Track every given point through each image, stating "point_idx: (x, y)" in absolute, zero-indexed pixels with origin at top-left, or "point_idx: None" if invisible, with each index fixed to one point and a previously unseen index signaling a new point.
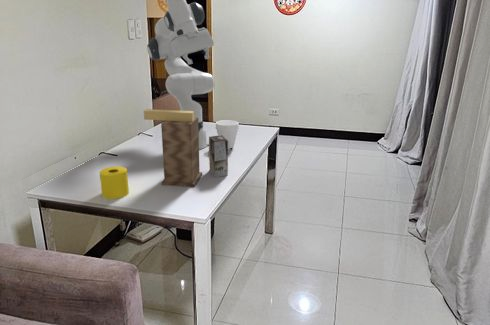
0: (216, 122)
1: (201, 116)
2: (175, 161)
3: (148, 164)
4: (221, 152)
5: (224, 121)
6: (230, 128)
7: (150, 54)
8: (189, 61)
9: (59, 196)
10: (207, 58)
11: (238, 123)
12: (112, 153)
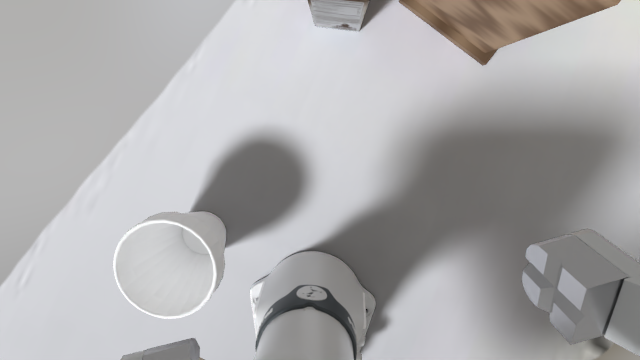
0: (207, 295)
1: (265, 336)
2: None
3: (519, 179)
4: None
5: (161, 311)
6: (175, 216)
7: None
8: (614, 248)
9: None
10: (185, 340)
11: (121, 239)
12: None
